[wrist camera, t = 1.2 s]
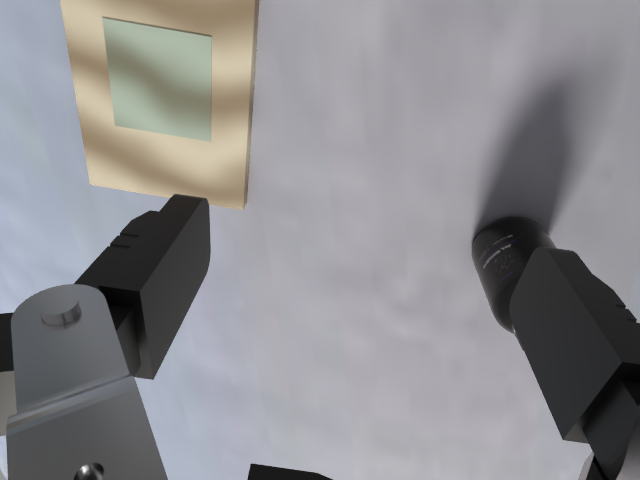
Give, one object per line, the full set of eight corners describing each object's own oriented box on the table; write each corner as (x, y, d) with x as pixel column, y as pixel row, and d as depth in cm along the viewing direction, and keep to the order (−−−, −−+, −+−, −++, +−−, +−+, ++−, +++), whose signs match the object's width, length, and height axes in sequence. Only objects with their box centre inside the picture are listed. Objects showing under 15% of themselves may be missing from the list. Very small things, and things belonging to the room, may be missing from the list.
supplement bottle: (476, 213, 38) (519, 298, 28) (554, 215, 38) (625, 302, 28) (463, 273, 42) (497, 368, 32) (534, 275, 42) (591, 373, 31)
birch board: (58, -91, 28) (43, -94, 27) (262, -54, 29) (257, -56, 27) (98, 177, 39) (89, 185, 38) (246, 202, 39) (242, 210, 38)
